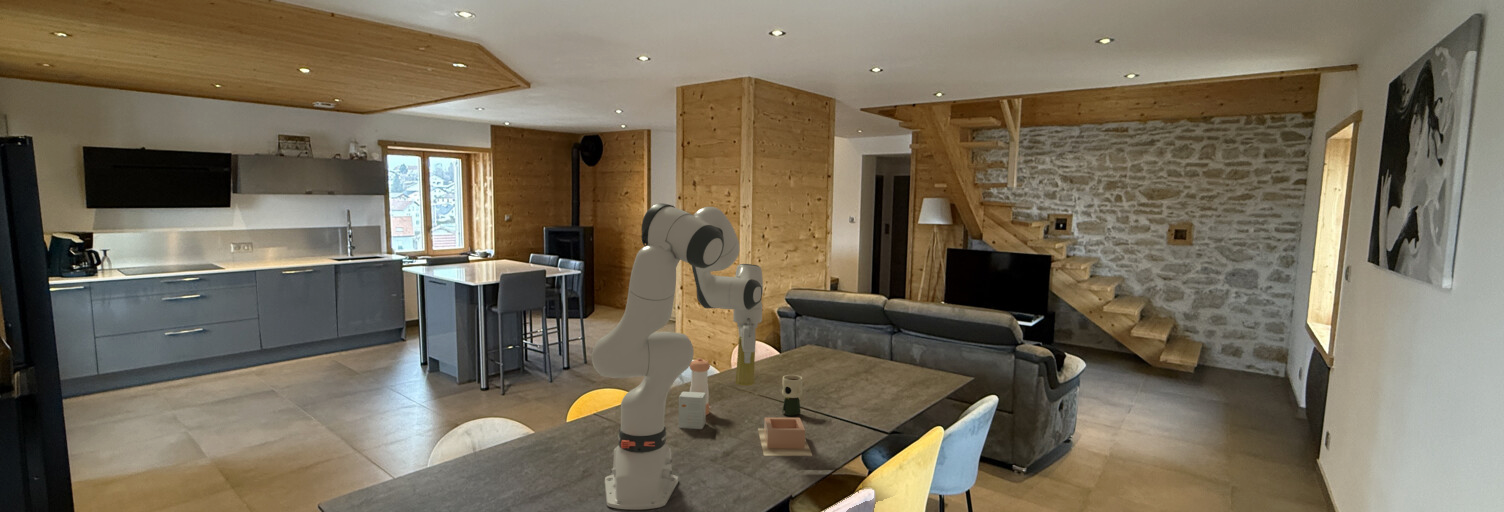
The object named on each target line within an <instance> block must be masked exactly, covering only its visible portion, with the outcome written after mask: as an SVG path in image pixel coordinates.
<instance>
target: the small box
mask: <svg viewBox="0 0 1504 512" xmlns="http://www.w3.org/2000/svg"><path fill="white" fill-rule="evenodd" d="M706 416H707V415H706V393H701V392H690V391H682V392H681V393H680V395H679V396H678V428H679V429H690V430H691V429H692V430H703V429H704V427H705V425H706Z"/></svg>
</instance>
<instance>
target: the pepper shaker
mask: <svg viewBox="0 0 1504 512" xmlns="http://www.w3.org/2000/svg"><path fill="white" fill-rule="evenodd" d="M710 368H711V364H710V363H709V361H707V360H705V359H703V358H702V357H698V358H697V359H695V360H694V359H693V360H692V362H691V364H690V366H689V369H690V370H691V378H690V379H691V383H690V388H689V392H701V393H706V416H707V415H709V414H710V401H709V400H710V399H709V398H710V397H709V396H710V392H709V391H710V390H709V385H708V373H709V372H708V371H709V370H710Z"/></svg>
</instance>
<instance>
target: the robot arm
mask: <svg viewBox="0 0 1504 512" xmlns="http://www.w3.org/2000/svg"><path fill="white" fill-rule="evenodd" d="M640 229H641V243H642V245H643V247H642V248H640V249H639V250H638V252H637V253H636V256H635V259H634V262H633V265H632V269H631V272H630V277H629V278H630V279H629V285H628V293H627V299H626V300H627V301H626V305H625V310H624V313H623V315H622V317H621V319H620V321H619V322H618V323H617V325H616V326H615V327H614V328H613V329H611V331H610V332H608V333H607V334H605V335H604V336H602V337H600V338H599V339H598V340H597V341H596V342H595V345H594V346H593V348H592V352H591V362H592V366H593V369H594V370H595V371H596V373H597V374H598V375H600V376H601V377H607V378H613V379H626V378H641V377H643V379H642V381H641V382H640V383H639V385H637V386H636V387H635V388H632V389H630V390H629V391H628V392H626V394H625V395H624V397H623V398H622V400H621V402H620V428H619V430H618V437H617V439H618V445H617V446H616V447H615V448H614V449H613V466H612V467H613V468H610V475H607V476H605V477H604V490H605V499H606V500H605V501H606V505H607V506H608V507H609V508H613V509H617V510H631V511H632V510H633V511H634V510H651V509H657V508H658V509H659V508H662V507H665V506H666V505H667V503H668V501H669V500H670V498H671V496H672V494H673V492H674V490H675V488H677V486H678V484H679V477H678V476H677V475H674V474H672V473H673V471H672V461H673V459H672V449H671V448H670V447H669V446H668V445H667V443H666V442H667V428H666V426H665V414H666V405H667V404H666V403H667V398H668V395H669V392H670V390H671V388H672V386H673V385H674V383H675V381H676V380H677V379H678V377H680V375H682V373H684V372H685V371H686V370H688V369H689V368H690V364H691V362H692V361H694V346H693V343H692V341H691V340H690V338H689V337H688V336H687V334H685V333H680V332H673V331H659V330H661V329H662V328H664V327H665V326H666V325H667V324H668V323H669V322H670V319H671V318H672V314H673V307H674V300H675V294H676V285H677V266H678V264H679V262H685V263H688V264H689V265H690V266H691V268H692V270H691V271H692V274H693V277H694V283H695V286H696V289H695V290H696V298H697V299H696V300H697V301H698V303H699V304H700V306H702V307H703V308H704V309H723V310H733V317H732V318H733V319H732V320H733V322H734V323H736V326H737V328H738V338H739V337H741V339H742V341H741V345H742V349H743V352H744V362H745V363H750V357H751V352H755V353H756V343H755V338H756V329H757V328H758V327H759V326H758V324H760V323H762V322H763V302H762V297H763V291H764V283H763V282H764V281H763V270H762V267H761V266H759V265H757V264H750V263H740V264H738V265H737V266H736V270H735V276H723V275H715V274H712V272H719V271H720V272H721V271H724V270H726V269H727V268H729V267H731V266H732V265H733V264H735V261H737V259H738V256H739V255H740V254H739V253H740V251H741V250H740V249H741V247H740V242H739V238H738V236H737V233H736V230H735V228H734V227H733V225H732V223H731V222H730V219H728V217H727V216H726V214H725V213H724V212H723V211H722V210H721V209H720V208H718V207H715V206H705V207H702V208H700V209H698V210H697V211H696V212H695V213H694V214H692V213H690V212H688V211H686V210H684V209H680V208H678V207H677V208H676V206H674V205H673V204H668V203H663V202H662V203H661V202H659V203H656V204H653V206H651V207H650V208H649V209H647V211H646V212H645V214H644V216H643V218H642V222H641V228H640Z"/></svg>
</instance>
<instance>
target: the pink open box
mask: <svg viewBox="0 0 1504 512" xmlns="http://www.w3.org/2000/svg"><path fill="white" fill-rule="evenodd" d="M801 419H802V418H800V417H764V424H763V426H764V428H763V429H764V437H765V441H766V445H767V448H804V447H805V439H806V429H805V426H804V425H803V422H802V420H801Z"/></svg>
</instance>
